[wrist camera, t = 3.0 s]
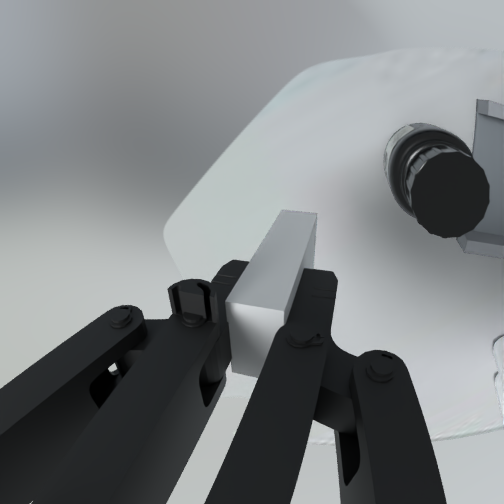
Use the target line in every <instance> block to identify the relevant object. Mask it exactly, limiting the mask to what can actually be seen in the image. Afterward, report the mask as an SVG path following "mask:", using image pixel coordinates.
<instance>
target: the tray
mask: <svg viewBox="0 0 504 504" xmlns="http://www.w3.org/2000/svg"><path fill="white" fill-rule="evenodd" d="M472 155H473V158H474V160H475V161H476V162H477V163H478V164H479V165H480V166H481V167H482V168H483V169H484V171H485V175H486V177H487V180H488V183H489V184H490V197H489V199H490V203H489V205H488V208H487V210H486V213H485V216H484V218H483V220H481V221H480V222H479V224H478V225H477V226H476V227H475V229H474V230H472V231H470V232H468V233H466V234H464V235H462V236H461V237H457V241H458V242H459V244H460V246H461V248H462V249H463V251H464V253H471V254H477V255H484V256H491V257H497V258H504V105H502V104H499V103H496V102H492V101H489V100H479V99H477V106H476V122H475V133H474V143H473V152H472Z"/></svg>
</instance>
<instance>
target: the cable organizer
mask: <svg viewBox="0 0 504 504" xmlns="http://www.w3.org/2000/svg"><path fill="white" fill-rule="evenodd" d="M493 356H494V359H495V362H496V365H497V369H498V372H499V373H498V375H497V376H496V378H495V384H494V386H495V390H496V394H497V398H498V402H499V407H500V411H501V416H502V421H503V424H504V336H503V337H501V338H500V339H498V340H497V341H496V342H495V344H494V349H493Z"/></svg>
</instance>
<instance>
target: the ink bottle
mask: <svg viewBox="0 0 504 504" xmlns="http://www.w3.org/2000/svg"><path fill="white" fill-rule="evenodd" d="M384 170H385V174H386V178H387V180H388V183H389V186H390V188H391V191H392V193H393V196H394V198H395V200H396V201H397V203H398V204H399V206H400V207H401V208H402V209H403V210H404V211H405V212H406V213H408V214H409V215H410V216H412V217H414V218H416V219H417V221H418V223H419V224H420V225H422V226H423V227H424V228H425V229H426V230H427V231H428V232H429V233H430V234H434V235H437V236H440V237H442V238H450V237H461V236H462V235H464V234H466V233H468V232H470V231H472V230H474V229H475V227H476V226H477V225H478V224H479V222H480V221H481V220H483V218H484V216H485V213H486V210H487V208H488V205H489V203H490V199H489V197H490V184H489V183H488V180H487V177H486V175H485V171H484V169H483V168H482V167H481V166H480V165H479V164H478V163H477V162H476V161H475V160H474V158H473V155H472V153H471V151H470V150H469V148H468V147H467V145H466V144H465V143H464V142H463V141H462V140H461V139H460V138H459V137H457V136H456V135H454V134H452V133H450V132H448V131H446V130H444V129H441V128H439V127H436V126H434V125H431V124H426V123H415V124H410V125H407V126H405V127H403V128H401V129H399V130H398V131H397V132H396V133H394V135H393V136H392V137H391V138H390V140H389V142H388V144H387V146H386V149H385V154H384Z"/></svg>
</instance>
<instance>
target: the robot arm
mask: <svg viewBox="0 0 504 504" xmlns="http://www.w3.org/2000/svg"><path fill="white" fill-rule="evenodd" d="M316 227H317V213H310V212H300V211H290V210H282V211H281V212H280V214H279V215H278V217H277V219H276V220H275V222H274V224H273V225H272V227H271V228H270V230H269V232H268V233H267V235H266V236H265V238H264V240H263V241H262V243H261V244H260V246H259V248H258V249H257V251H256V252H255V254H254V256H253V257H252V259H251V260H250V262H248V261H240V260H232V261H230V262H228V263H227V264H225V265H223V266H222V267H221V269H220V270H219V271H218V273H217V274H216V276H215V277H214V278H213V279H212V281H211V283H210V282H208V281H205V280H202V279H188V280H182V281H180V282H177V283H175V284H173V285H172V286H170V287H169V288H168V293H169V299H170V303H171V308H172V313H173V314H172V315H171V316H170V317H169V319H157V320H156V319H155V320H154V319H152V320H151V319H147V320H146V319H144V316H143V313H142V311H141V310H140V309H139V308H138V307H135V306H132V305H122V306H118V307H114V308H113V309H111V310H109V311H107V312H106V313H104V314H103V315H101V316H100V317H98V318H97V319H96V320H94V321H93V322H91V323H90V324H88V325H87V326H86V327H84V328H83V329H81V330H80V331H79V332H77V333H76V334H74V335H73V336H72V337H70V338H69V339H67V340H66V341H65V342H63V343H62V344H60V345H59V346H58V347H56V348H55V349H54V350H52V351H51V352H49V353H48V354H47V355H45V356H44V357H43V358H41V359H40V360H39V361H37V362H36V363H34V364H33V365H32V366H30V367H29V368H28V369H26V370H25V371H24V372H22V373H21V374H20V375H18V376H17V377H15V378H14V379H13V380H12V381H10V382H9V383H8V384H6V385H5V386H4V387H2V388H1V389H0V504H29V503H31V502H32V501H33V500H34V501H33V502H32V503H31V504H166V503H167V501H168V499H169V497H170V495H171V493H172V491H173V489H174V487H175V485H176V484H177V482H178V480H179V478H180V476H181V474H182V472H183V470H184V468H185V466H186V464H187V462H188V459H189V458H190V456H191V454H192V452H193V450H194V448H195V446H196V444H197V442H198V440H199V438H200V436H201V434H202V432H203V430H204V428H205V426H206V424H207V422H208V420H209V418H210V416H211V414H212V412H213V410H214V408H215V406H216V404H217V402H218V400H219V397H220V395H221V393H222V391H223V389H224V387H225V384H226V373H225V372H226V370H227V368H228V365H229V363H230V361H231V367H232V372H234V373H238V374H243V375H247V376H252V377H257V378H258V380H257V383H256V385H255V388H254V390H253V393H252V395H251V398H250V400H249V402H248V405H247V407H246V410H245V412H244V415H243V417H242V420H241V422H240V424H239V427H238V429H237V431H236V434H235V436H234V438H233V441H232V443H231V445H230V448H229V450H228V452H227V455H226V457H225V459H224V462H223V464H222V466H221V468H220V470H219V473H218V475H217V478H216V479H215V482H214V484H213V486H212V488H211V490H210V492H209V495H208V497H207V499H206V501H205V503H204V504H290V502H291V499H292V496H293V492H294V489H295V486H296V482H297V479H298V475H299V471H300V468H301V464H302V460H303V457H304V453H305V449H306V445H307V441H308V437H309V433H310V429H311V425H312V421H313V420H315V421H317V422H319V423H321V424H323V425H325V426H328V427H330V428H332V429H334V434H335V443H336V453H337V462H338V463H337V464H338V474H339V486H340V499H341V504H447V503H446V498H445V494H444V489H443V485H442V482H441V477H440V473H439V469H438V465H437V461H436V458H435V454H434V450H433V446H432V443H431V439H430V436H429V433H428V429H427V426H426V423H425V419H424V416H423V413H422V410H421V407H420V404H419V401H418V398H417V395H416V392H415V389H414V386H413V383H412V380H411V377H410V374H409V372H408V369H407V367H406V365H405V364H404V362H403V360H402V359H400V358H399V357H398V356H396V355H395V354H393V353H390V352H387V351H382V350H372V351H368V352H365V353H363V354H362V355H360V356H358V357H357V356H354V355H352V354H349V353H347V352H345V351H343V350H342V349H340V348H339V347H338V346H337V345H336V344H335V343H334V341H333V340H332V337H331V325H332V318H333V312H334V305H335V299H336V291H337V284H338V280H337V278H336V276H335V274H334V272H332V271H325V270H317V269H313V268H314V255H315V242H316ZM114 363H115V364H116V367H117V370H115V371H113V372H109V370H108V368H109V367H110V366H111V365H112V364H114Z"/></svg>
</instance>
